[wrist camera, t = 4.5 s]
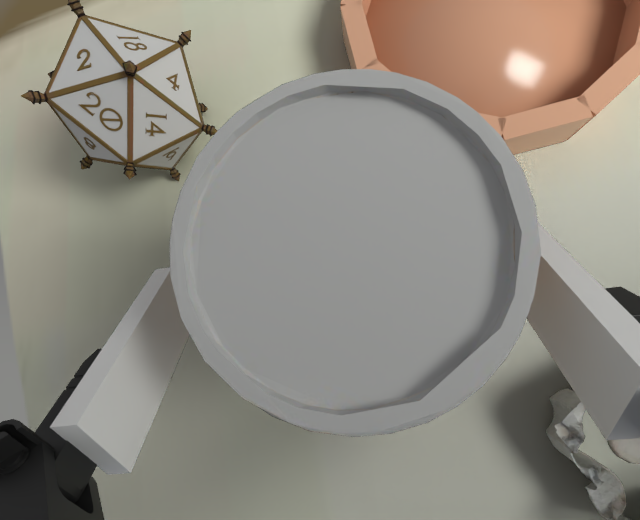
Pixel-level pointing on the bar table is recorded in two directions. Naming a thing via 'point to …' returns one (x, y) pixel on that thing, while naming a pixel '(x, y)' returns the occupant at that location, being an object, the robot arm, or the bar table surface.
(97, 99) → the game die
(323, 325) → the disposable coffee cup
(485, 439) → the bar table surface
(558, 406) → the egg carton
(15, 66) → the bar table surface
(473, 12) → the terracotta bowl
